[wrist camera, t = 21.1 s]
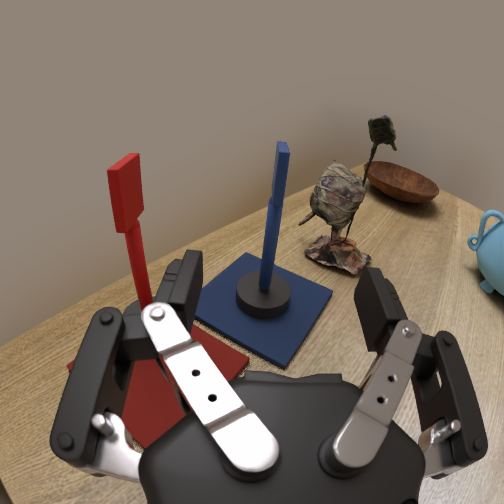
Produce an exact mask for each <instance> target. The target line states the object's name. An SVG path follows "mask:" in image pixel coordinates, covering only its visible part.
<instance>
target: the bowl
mask: <svg viewBox="0 0 504 504" xmlns="http://www.w3.org/2000/svg"><path fill="white" fill-rule="evenodd" d="M367 164H368V162H367V163H366V164H364V170H366V167H367ZM367 178H368V179H369V180H370V182H371V183H372V184H373V185H374V186H375V187H376V188H378V189H379V190H381V191H382V192H383V193H385V194H386V195H388V196H390V197H392V198H394V199H396V200H398V201H404V202H412V203H423V202H428V201H430V200H432V199H433V198H435V197H436V196H437V195H438V194H439V188H438V187H437V186H436V184H435V183H434V182H432V181H431V180H430V179H428V178H426V177H424V176H423V175H421V174H419V173H416V172H414V171H412V170H410V169H407V168H405V167H402V166H399V165H396V164H393V163H389V162H382V161H372V162H371V164H370V168H369V171H368V174H367Z"/></svg>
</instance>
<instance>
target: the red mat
mask: <svg viewBox="0 0 504 504" xmlns="http://www.w3.org/2000/svg"><path fill="white" fill-rule="evenodd" d="M190 337H191V338H192V340H193V341H195V340H197V341H198V342H199V343H200V344H201V345H202V347H203V348H204V350H205V351H206V353H207V354H208V356H209V357H210V359H211V360H212V361H213V363H214V364H215V366H216V367H217V369H218V370H219V371H220V373H221V374H222V376H223V377H224V378H225V380H226V381H229V380H232V379H235V378H236V377H237V375H238V374H239V373H240V372H241V371H242V369H243V368H244V367H245V366H246V365H247V363H248V362H249V359H250V358H249V357H247V356H245V355H244V354H242V353H240V352H238V351H237V350H235V349H233V348H231V347H230V346H228V345H226V344H225V343H223V342H221V341H220V340H218V339H216V338H215V337H213V336H211V335H210V334H208V333H207V332H205V331H203V330H202V329H200V328H199V327H197V326H195V325H194V324H193V326H192V330H191V334H190ZM74 361H75V360H73V361H72V362H71V363H70V364H68V365H67V368H68V369H69V370H70V371H71V369H72V366H73V363H74ZM183 417H184V414H183V413H182V411H181V409H180V407H179V406H178V404H177V402H176V400H175V398H174V396H173V394H172V392H171V390H170V388H169V386H168V384H167V382H166V381H165V379H164V377H163V375H162V373H161V371H160V369H159V367H158V366H157V364H156V362H155V360H154V359H150V360H141V361H135V365H134V368H133V372H132V376H131V380H130V384H129V388H128V393H127V397H126V401H125V406H124V410H123V415H122V421H123V423H124V424H125V425H126V426H127V427H128V428H129V430H130V431H131V433H132V438H133V439H135V440H136V441H137V442H138V443H139V444H140V445H141V446H143V447H144V448H145V449H146V448H147V447H148V446H149V445H150V444H151V443H152V442H154V441H155V440H156V439H157V438H159V437H160V436H161V435H162V434H164V433H165V432H166V431H167V430H169V429H170V428H171V427H172V426H173V425H175V424H176V423H177V422H178V421H179V420H181V419H182V418H183Z"/></svg>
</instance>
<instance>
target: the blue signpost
mask: <svg viewBox="0 0 504 504" xmlns="http://www.w3.org/2000/svg"><path fill="white" fill-rule="evenodd" d="M289 156H290V152H289V148H288V145H287V142H281V141H278V142H277V149H276V157H275V166H274V174H273V182H272V196H271V197H270V199H269V205H268V213H267V221H266V229H265V237H264V245H263V253H262V260H261V268H260V271H254V272H250V273H247V274H245V275H244V276H242V277H241V278H240V279H239V280H238V282H237V285H236V303H237V305H238V307H239V308H240V309H241V310H242V311H243V312H244V313H245V314H247V315H249V316H251V317H254V318H258V319H271V318H275V317H278V316H280V315H281V314H283V313H284V312H285V311H286V309H287V307H288V304H289V300H290V296H291V288H290V285H289V284H288V282H287V281H286V280H285V279H284V278H282V277H281V276H279V275H277V274H275V273H272V272H273V266H274V260H275V254H276V247H277V241H278V235H279V228H280V222H281V215H282V208H283V200H284V192H285V186H286V178H287V171H288V164H289Z"/></svg>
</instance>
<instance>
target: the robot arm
mask: <svg viewBox="0 0 504 504" xmlns="http://www.w3.org/2000/svg"><path fill="white" fill-rule="evenodd" d="M202 284H203V254H202V251H197V250H186V252H185V255H184V257H183V260H181V259H175V260H173V261H172V262H171V263H170V264H169V265H168V267H167V269H166V272H165V274H164V276H163V279H162V281H161V284H160V286H159V288H158V291H157V293H156V296H155V298H154V301H153V303H151V304H149V305H147V306H146V307H145V308H144V309H143V311H142V312H141V313H137V314H128V315H122V313H121V312H120V310H118V309H117V308H114V307H105V308H102V309H100V310H98V311H97V312H96V313H95V314H94V315H93V317H92V320H91V322H90V324H89V326H88V329H87V331H86V333H85V336H84V338H83V341H82V343H81V346H80V348H79V350H78V353H77V356H76V358H75V361H74V363H73V366H72V369H71V371H70V374H69V377H68V380H67V382H66V385H65V388H64V391H63V394H62V397H61V400H60V403H59V407H58V410H57V413H56V416H55V420H54V423H53V427H52V430H51V434H50V441H49V442H50V447H51V449H52V451H53V453H54V454H55V455H56V456H57V457H59V458H60V459H62V460H64V461H65V462H67V463H68V464H69V465H71V466H73V467H75V468H77V469H79V470H81V471H83V472H85V473H88V474H91V475H93V476H96V477H104V476H106V475H107V476H111V477H115V478H118V479H122V480H126V481H131V482H135V483H140V484H141V485H142V487H143V490H144V492H145V495H146V499H147V503H148V504H418V497H419V491H420V486H421V483H422V480H423V478H427V477H431V478H433V479H441V478H443V477H446V476H448V475H450V474H452V473H454V472H456V471H459V470H461V469H463V468H465V467H467V466H469V465H471V464H473V463H474V462H476V461H478V460H480V459H482V458H483V457H484V456H485V454H486V452H487V449H488V441H487V436H486V432H485V427H484V423H483V419H482V415H481V412H480V408H479V404H478V401H477V397H476V394H475V391H474V387H473V384H472V381H471V378H470V375H469V372H468V369H467V366H466V364H465V361H464V358H463V355H462V353H461V350H460V348H459V345H458V342H457V340H456V338H455V337H454V336H453V335H452V334H451V333H449V332H447V331H439V332H438V333H437V334H436V335H435V337H433V336H429V335H426V334H422V332H421V329H420V328H419V326H418V325H417V324H415V323H414V322H412V321H410V320H408V318H407V316H406V313H405V311H404V308H403V306H402V304H401V301H400V300H399V297H398V295H397V292H396V290H395V288H394V286H393V284H392V283H391V282H390V281H389V280H388V279H387V278H384V277H383V274H382V272H381V270H380V269H379V268H373V267H365V268H364V269H363V271H362V274H361V276H360V279H359V281H358V284H357V286H356V288H355V292H354V302H355V305H356V309H357V312H358V316H359V319H360V323H361V326H362V330H363V334H364V337H365V341H366V345H367V349H368V352H377V356H376V358H375V359H374V361H373V363H372V364H371V366H370V368H369V370H368V372H367V373H366V375H365V377H364V378H363V380H362V382H361V383H360V385H359V387H357V386H355V385H354V384H352V383H349V382H346V381H343V380H342V374H315V375H311V376H306V377H301V378H290V377H286V376H283V375H279V374H275V373H272V372H263V371H249V370H245V374H244V377H240V378H235V379H232V380H229V381H226V380H225V378H224V377H223V376H222V374H221V373H220V371H219V370H218V369H217V367H216V366H215V364H214V363H213V361H212V360H211V359H210V357H209V356H208V354H207V353H206V351H205V350H204V348H203V347H202V345H201V344H200V343H199V342H198V341H197V340H195V341H193V340H192V338H191V337H190V334H191V330H192V326H193V321H194V317H195V313H196V309H197V305H198V301H199V297H200V293H201V289H202ZM150 359H154V360H155V362H156V364H157V366H158V367H159V369H160V371H161V373H162V375H163V377H164V379H165V381H166V382H167V384H168V386H169V388H170V390H171V392H172V394H173V396H174V398H175V400H176V402H177V404H178V406H179V407H180V409H181V411H182V413H183V414H184V417H183V418H182V419H181V420H179V421H178V422H177V423H176V424H175V425H173V426H172V427H171V428H170V429H169V430H167V431H166V432H165V433H164V434H162V435H161V436H160V437H159V438H157V439H156V440H155V441H154V442H152V443H151V444H150V445H149V446H148V447H147V448H146V449H145V450H144V452H143V453H142V454H141V453H138V452H136V451H135V450H134V447H133V438H132V433H131V431H130V430H129V428H128V427H127V426H126V425H125V424H124V423H123V421H122V415H123V410H124V406H125V401H126V397H127V393H128V388H129V384H130V380H131V376H132V372H133V368H134V365H135V361H141V360H150ZM438 371H439V375H440V378H441V382H442V385H441V389H440V385H439V381H438V378H437V374H436V373H437V372H438ZM410 377H411V381H412V385H413V390H414V394H415V399H416V404H417V409H418V414H419V419H420V425H421V431H422V433H421V435H420V437H419V440H418V444H417V443H416V442H415V441H414V440H413V439H412V438H411V437H410V436H408V435H407V434H406V433H405V432H404V431H403V430H402V429H401V428H400V427H399V426H398V425H397V424H396V423H395V422H394V421H393V420H392V418H393V416H394V414H395V412H396V409H397V407H398V405H399V403H400V401H401V398H402V396H403V394H404V392H405V389H406V387H407V384H408V382H409V380H410Z"/></svg>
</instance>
